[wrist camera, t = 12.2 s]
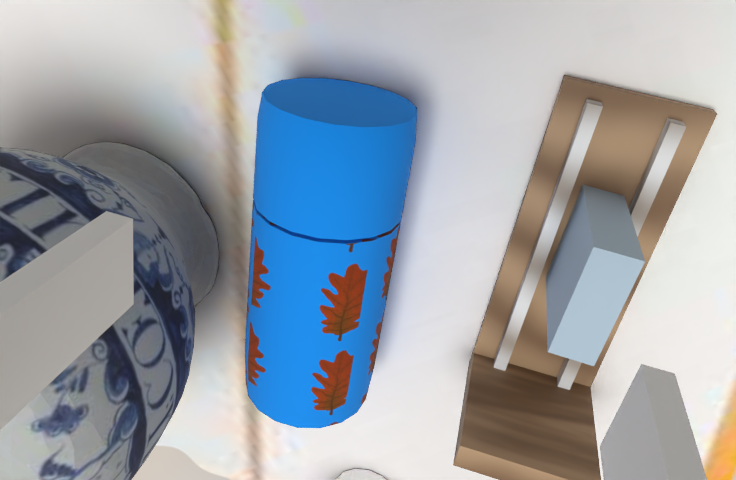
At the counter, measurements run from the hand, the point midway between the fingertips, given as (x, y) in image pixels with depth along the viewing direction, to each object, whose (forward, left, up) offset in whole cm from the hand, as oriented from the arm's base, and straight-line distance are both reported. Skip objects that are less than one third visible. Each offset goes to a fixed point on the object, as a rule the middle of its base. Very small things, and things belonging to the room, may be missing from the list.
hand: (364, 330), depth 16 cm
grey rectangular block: (+10, +11, -32) cm, 35 cm away
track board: (+12, +11, -33) cm, 37 cm away
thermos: (+28, -7, -27) cm, 40 cm away
